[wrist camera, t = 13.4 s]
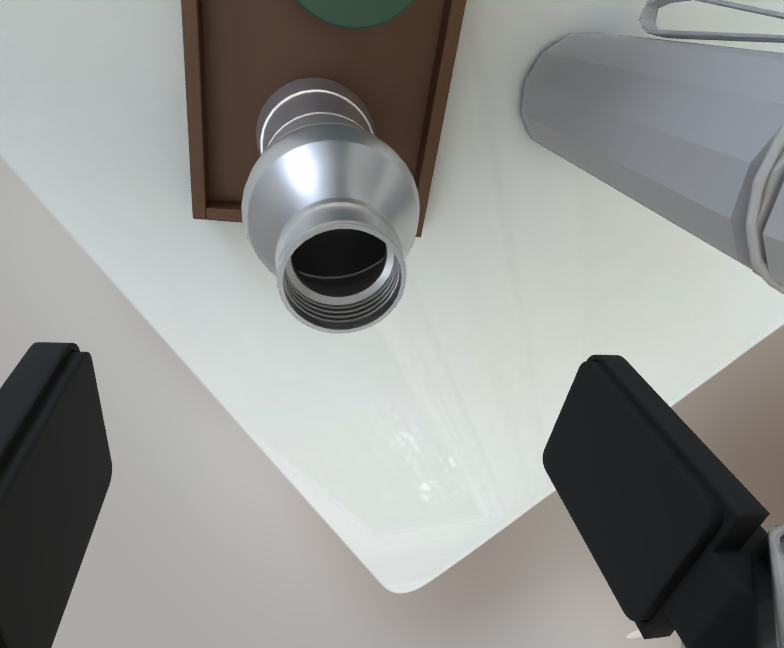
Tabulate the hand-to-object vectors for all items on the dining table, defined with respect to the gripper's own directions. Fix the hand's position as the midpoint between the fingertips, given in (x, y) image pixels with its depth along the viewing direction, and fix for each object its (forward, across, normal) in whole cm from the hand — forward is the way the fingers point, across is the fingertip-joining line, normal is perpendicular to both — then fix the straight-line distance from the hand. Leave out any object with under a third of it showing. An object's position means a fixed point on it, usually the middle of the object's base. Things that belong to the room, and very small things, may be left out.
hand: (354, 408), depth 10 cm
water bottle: (+26, -17, -5) cm, 31 cm away
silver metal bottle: (+26, 0, 0) cm, 26 cm away
